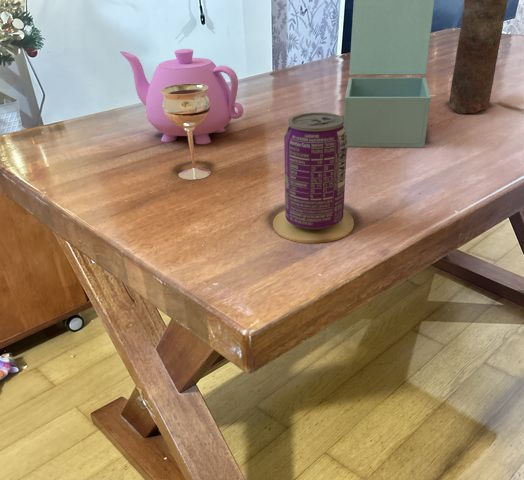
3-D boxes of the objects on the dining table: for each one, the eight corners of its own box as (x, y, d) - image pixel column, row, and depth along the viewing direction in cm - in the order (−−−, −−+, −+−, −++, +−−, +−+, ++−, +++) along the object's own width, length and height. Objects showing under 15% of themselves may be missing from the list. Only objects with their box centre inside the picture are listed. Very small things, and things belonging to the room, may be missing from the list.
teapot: (114, 144, 96) (96, 57, 88) (154, 119, 107) (142, 41, 99) (228, 152, 90) (221, 60, 81) (259, 125, 101) (255, 42, 93)
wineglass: (170, 168, 85) (158, 85, 77) (213, 163, 86) (205, 81, 78) (174, 184, 80) (162, 96, 72) (220, 178, 81) (212, 91, 73)
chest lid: (437, -28, 88) (434, -22, 92) (355, -25, 90) (355, -19, 94) (426, 74, 94) (423, 76, 97) (349, 74, 96) (349, 76, 100)
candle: (441, 105, 107) (460, -16, 95) (477, 103, 108) (500, -19, 95) (456, 116, 101) (478, -13, 89) (494, 113, 102) (521, -15, 89)
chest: (424, 147, 88) (431, 97, 83) (342, 146, 90) (344, 97, 85) (419, 122, 99) (425, 77, 94) (346, 122, 101) (349, 77, 96)
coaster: (331, 202, 72) (331, 200, 72) (368, 233, 65) (368, 230, 64) (261, 216, 70) (261, 213, 69) (291, 249, 62) (291, 246, 62)
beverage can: (328, 205, 70) (332, 108, 63) (352, 228, 65) (359, 123, 58) (277, 215, 69) (275, 115, 61) (297, 238, 63) (297, 132, 56)
